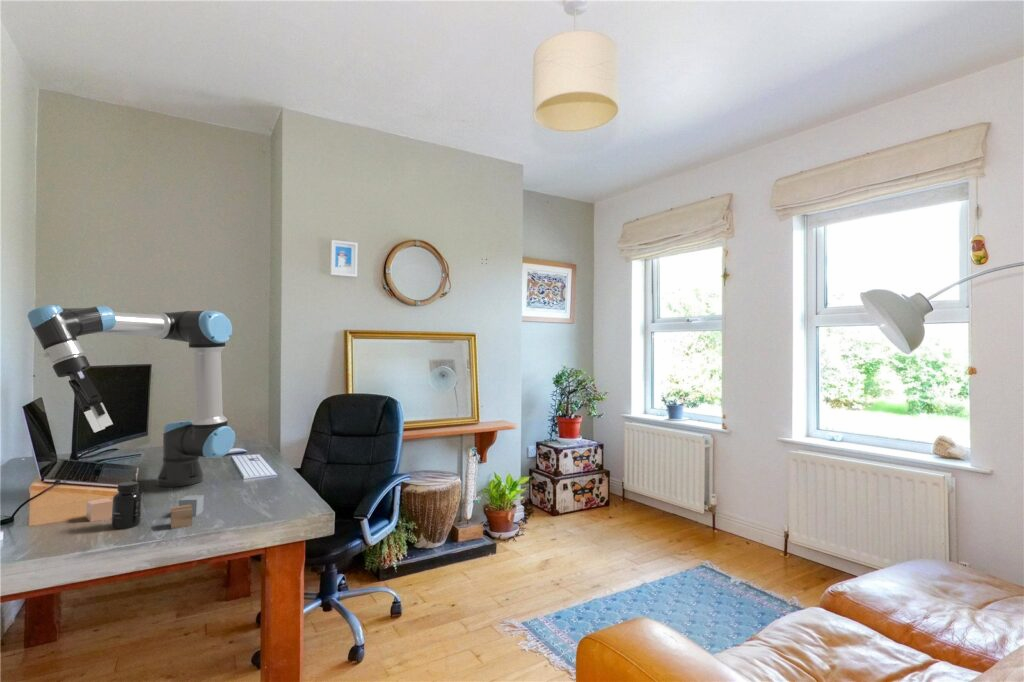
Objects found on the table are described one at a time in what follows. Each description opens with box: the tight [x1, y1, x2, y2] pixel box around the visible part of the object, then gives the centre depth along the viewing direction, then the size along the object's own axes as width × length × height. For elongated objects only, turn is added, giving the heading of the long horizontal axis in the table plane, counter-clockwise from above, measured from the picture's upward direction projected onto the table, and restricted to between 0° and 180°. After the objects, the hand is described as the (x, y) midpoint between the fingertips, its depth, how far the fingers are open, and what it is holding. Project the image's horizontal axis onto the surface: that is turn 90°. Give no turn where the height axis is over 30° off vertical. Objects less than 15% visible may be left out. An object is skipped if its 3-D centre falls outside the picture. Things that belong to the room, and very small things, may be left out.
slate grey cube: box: [178, 494, 205, 517], centre depth 159 cm, size 5×5×5 cm
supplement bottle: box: [110, 481, 143, 530], centre depth 147 cm, size 7×7×12 cm
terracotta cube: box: [86, 497, 113, 522], centre depth 153 cm, size 5×5×5 cm
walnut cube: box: [170, 505, 193, 530], centre depth 148 cm, size 5×5×5 cm
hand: (103, 428), depth 146 cm, fingers open, 13 cm apart
